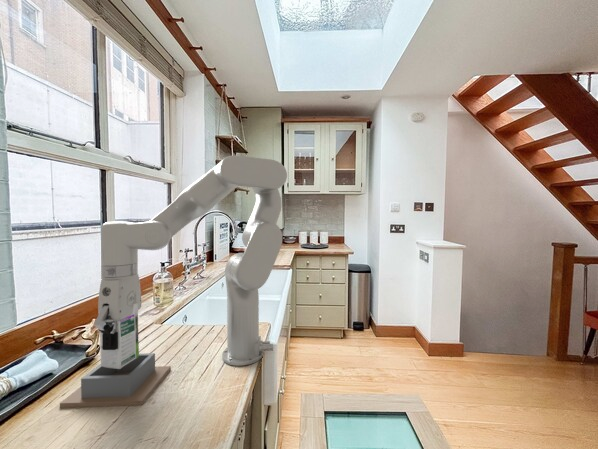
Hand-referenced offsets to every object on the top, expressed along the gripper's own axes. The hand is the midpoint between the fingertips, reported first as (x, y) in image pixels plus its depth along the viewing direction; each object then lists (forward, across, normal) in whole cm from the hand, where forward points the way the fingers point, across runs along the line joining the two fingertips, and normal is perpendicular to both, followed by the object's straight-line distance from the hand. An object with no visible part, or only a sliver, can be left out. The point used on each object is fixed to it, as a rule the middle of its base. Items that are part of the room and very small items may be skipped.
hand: (120, 341), depth 65 cm
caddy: (+11, 0, 0) cm, 11 cm away
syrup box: (+5, 0, 0) cm, 5 cm away
